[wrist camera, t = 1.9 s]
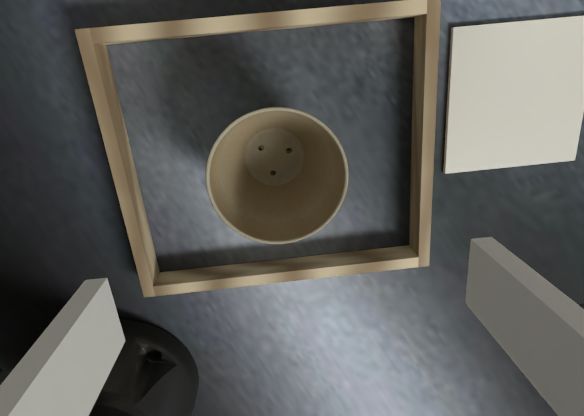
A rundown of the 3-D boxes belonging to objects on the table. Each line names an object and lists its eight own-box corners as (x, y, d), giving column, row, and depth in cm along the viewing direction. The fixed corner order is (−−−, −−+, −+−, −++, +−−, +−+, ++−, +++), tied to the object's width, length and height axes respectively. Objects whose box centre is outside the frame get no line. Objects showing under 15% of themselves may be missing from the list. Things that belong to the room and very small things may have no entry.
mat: (443, 172, 36) (445, 173, 35) (451, 27, 31) (453, 27, 31) (571, 159, 36) (575, 160, 36) (597, 14, 32) (601, 13, 31)
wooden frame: (151, 282, 38) (144, 297, 35) (89, 31, 30) (74, 29, 27) (418, 253, 38) (428, 265, 36) (427, 1, 31) (441, -3, 28)
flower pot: (226, 216, 36) (218, 252, 29) (207, 103, 32) (193, 115, 25) (335, 203, 36) (351, 237, 29) (328, 91, 32) (345, 99, 26)
